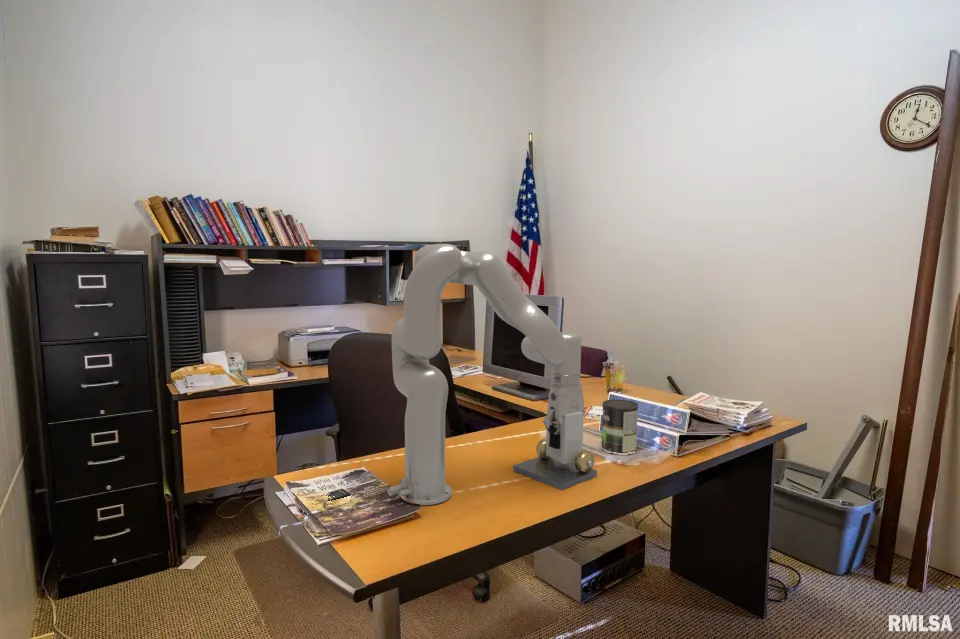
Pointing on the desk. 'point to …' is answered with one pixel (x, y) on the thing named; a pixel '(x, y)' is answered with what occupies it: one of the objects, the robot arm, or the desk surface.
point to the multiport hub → (338, 494)
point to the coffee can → (619, 426)
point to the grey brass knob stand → (557, 468)
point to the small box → (568, 439)
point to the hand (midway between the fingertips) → (564, 444)
